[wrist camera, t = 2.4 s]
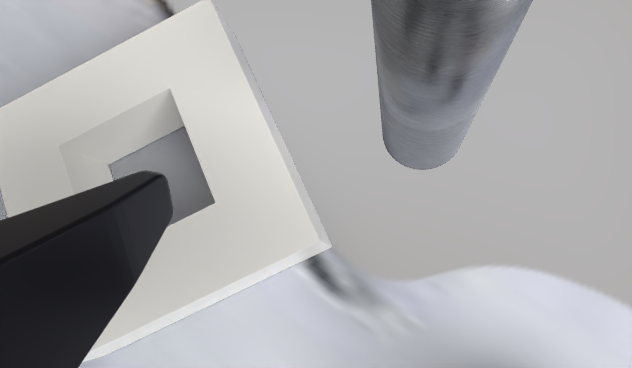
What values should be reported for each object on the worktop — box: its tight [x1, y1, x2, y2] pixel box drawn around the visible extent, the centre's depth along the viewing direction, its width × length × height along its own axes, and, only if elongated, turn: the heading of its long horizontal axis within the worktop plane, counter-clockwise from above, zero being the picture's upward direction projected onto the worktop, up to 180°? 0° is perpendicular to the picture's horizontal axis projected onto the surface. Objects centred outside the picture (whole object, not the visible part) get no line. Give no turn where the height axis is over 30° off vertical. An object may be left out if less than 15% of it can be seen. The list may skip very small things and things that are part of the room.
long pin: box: [371, 0, 533, 170], centre depth 14 cm, size 4×4×13 cm
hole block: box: [0, 0, 332, 362], centre depth 20 cm, size 12×12×4 cm
